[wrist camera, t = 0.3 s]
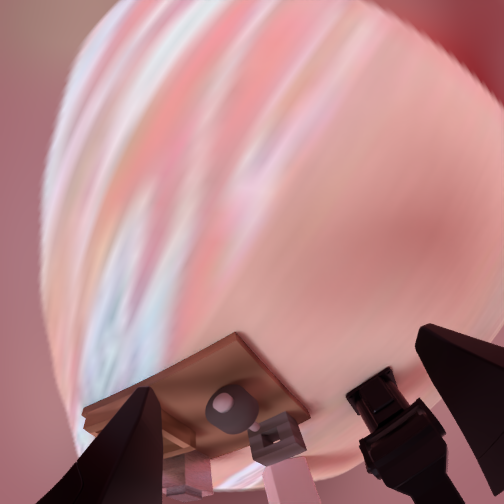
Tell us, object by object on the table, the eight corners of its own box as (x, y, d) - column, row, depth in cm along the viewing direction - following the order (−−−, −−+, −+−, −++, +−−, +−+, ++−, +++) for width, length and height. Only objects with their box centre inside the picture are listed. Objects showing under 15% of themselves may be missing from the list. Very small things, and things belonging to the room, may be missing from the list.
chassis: (308, 410, 29) (322, 446, 24) (171, 463, 30) (171, 494, 25) (234, 331, 23) (243, 378, 18) (83, 407, 24) (72, 443, 19)
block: (209, 457, 28) (214, 499, 22) (181, 465, 29) (183, 504, 22) (184, 443, 27) (185, 489, 20) (156, 452, 27) (154, 494, 21)
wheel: (270, 402, 25) (280, 436, 21) (234, 418, 25) (239, 452, 21) (239, 373, 23) (246, 410, 19) (200, 392, 23) (201, 429, 19)
